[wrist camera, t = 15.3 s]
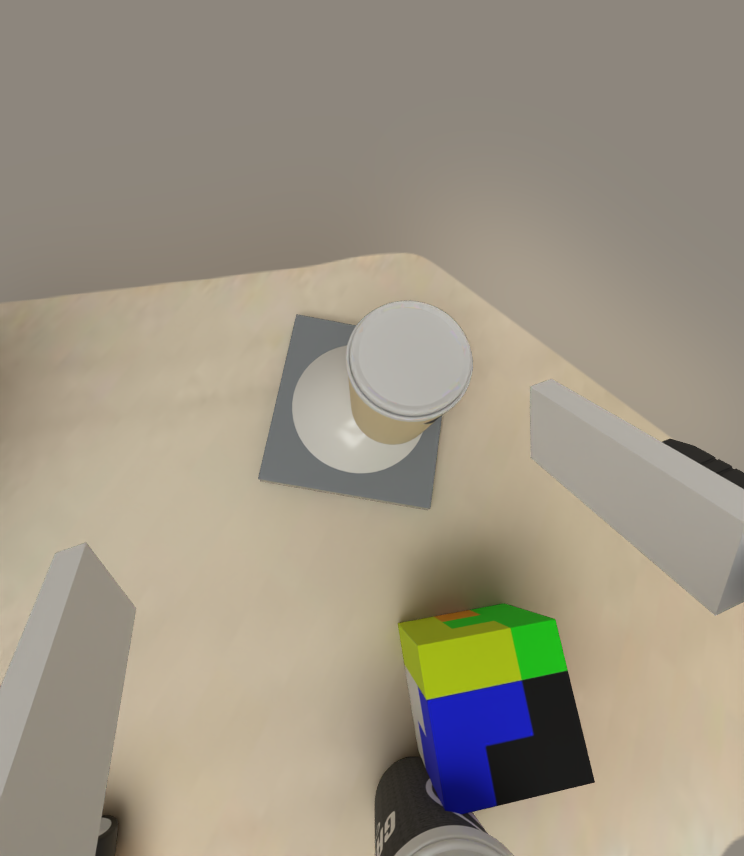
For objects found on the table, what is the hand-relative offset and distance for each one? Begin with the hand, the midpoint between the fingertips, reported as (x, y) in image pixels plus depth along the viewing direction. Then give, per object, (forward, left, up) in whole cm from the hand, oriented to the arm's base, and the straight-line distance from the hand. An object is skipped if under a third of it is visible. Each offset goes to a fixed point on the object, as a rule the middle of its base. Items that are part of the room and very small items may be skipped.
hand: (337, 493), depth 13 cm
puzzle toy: (+13, -10, -30) cm, 34 cm away
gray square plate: (0, +12, -30) cm, 32 cm away
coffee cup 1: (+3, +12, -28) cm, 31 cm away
